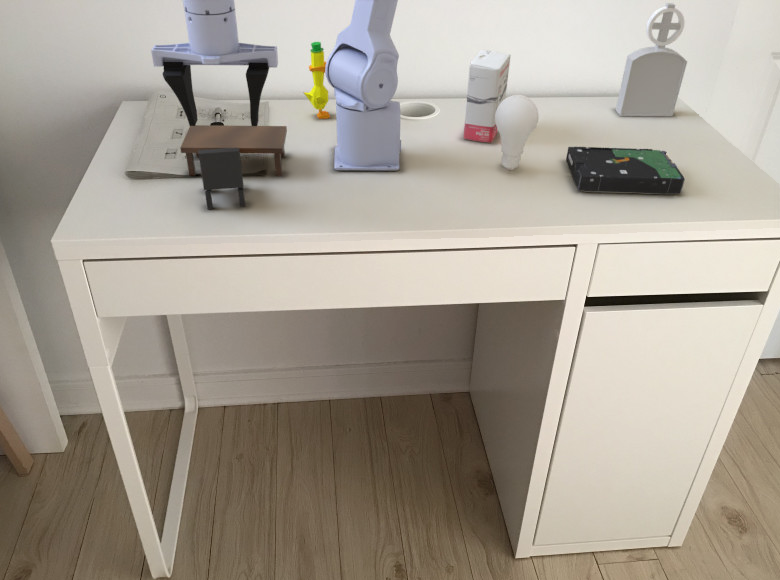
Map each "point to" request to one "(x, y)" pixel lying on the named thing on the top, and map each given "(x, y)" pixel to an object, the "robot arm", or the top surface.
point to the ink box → (485, 94)
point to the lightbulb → (515, 127)
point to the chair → (221, 172)
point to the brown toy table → (235, 141)
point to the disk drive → (623, 170)
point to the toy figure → (318, 81)
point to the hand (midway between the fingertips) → (224, 123)
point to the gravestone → (654, 71)
